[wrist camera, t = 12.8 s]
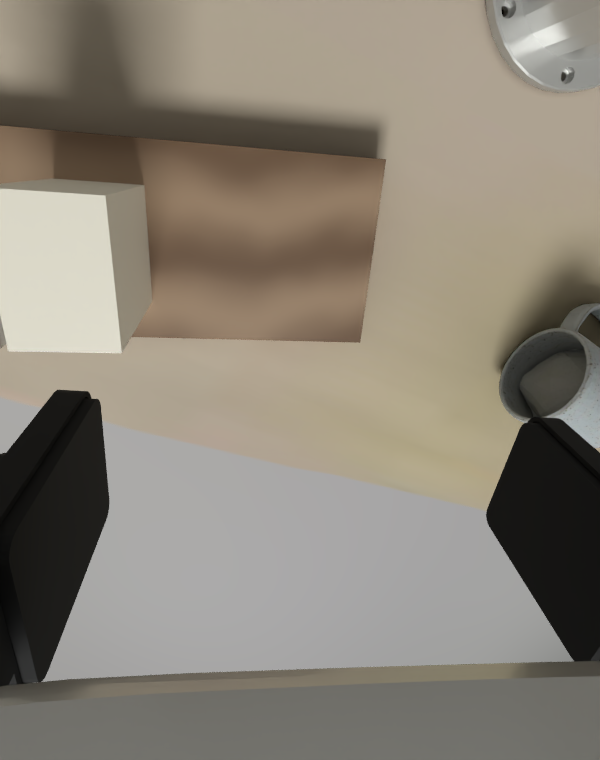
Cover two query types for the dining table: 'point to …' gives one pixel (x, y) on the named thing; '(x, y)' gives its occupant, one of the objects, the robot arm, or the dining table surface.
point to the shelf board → (230, 230)
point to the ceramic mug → (557, 377)
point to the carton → (73, 265)
